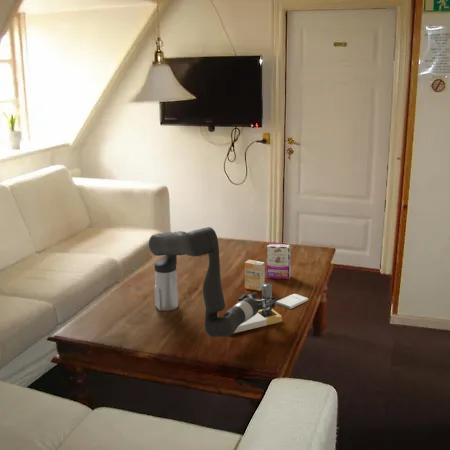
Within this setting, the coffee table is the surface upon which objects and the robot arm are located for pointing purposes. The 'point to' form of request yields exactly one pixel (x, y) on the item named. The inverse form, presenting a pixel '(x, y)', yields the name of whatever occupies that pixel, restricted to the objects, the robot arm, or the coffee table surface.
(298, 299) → the external hard drive
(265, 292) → the peg
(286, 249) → the candy bar box
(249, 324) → the rail
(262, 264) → the supplement box
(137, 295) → the coffee table surface
